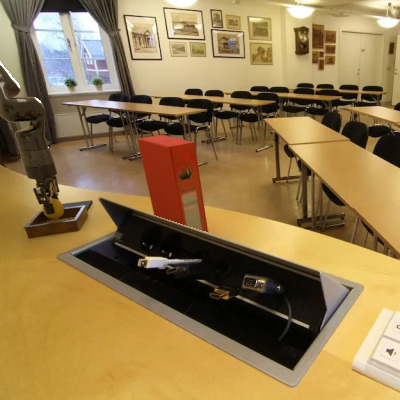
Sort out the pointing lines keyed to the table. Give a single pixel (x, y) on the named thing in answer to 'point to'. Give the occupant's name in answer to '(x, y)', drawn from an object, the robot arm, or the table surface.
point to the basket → (40, 229)
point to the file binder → (174, 180)
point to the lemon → (57, 207)
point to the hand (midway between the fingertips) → (53, 210)
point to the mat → (79, 204)
